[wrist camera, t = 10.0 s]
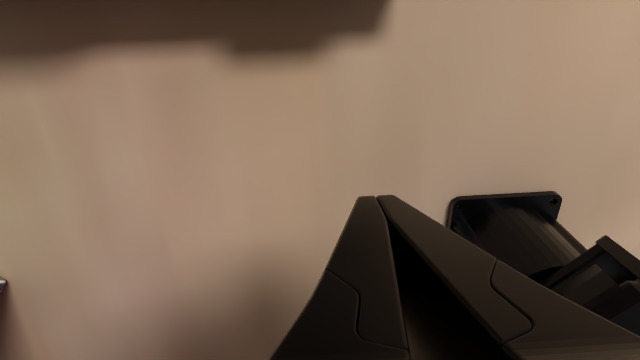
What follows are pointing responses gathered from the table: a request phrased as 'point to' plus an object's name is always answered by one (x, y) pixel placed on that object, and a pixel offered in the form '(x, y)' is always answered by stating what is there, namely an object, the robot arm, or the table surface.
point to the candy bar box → (2, 284)
